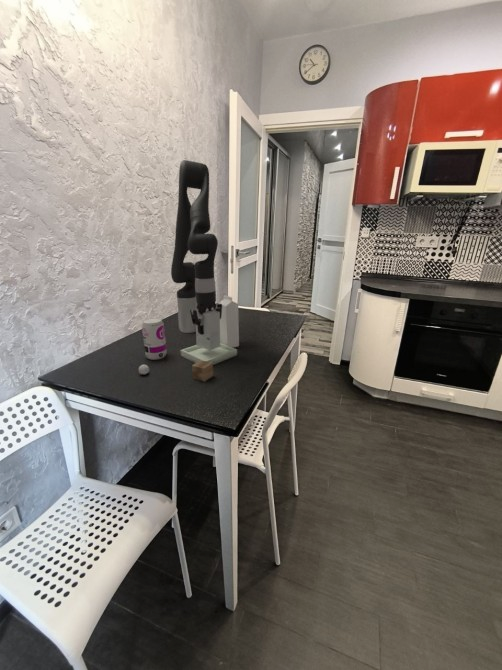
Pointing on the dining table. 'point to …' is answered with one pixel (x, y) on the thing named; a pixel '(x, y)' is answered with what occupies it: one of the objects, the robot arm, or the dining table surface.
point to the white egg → (143, 369)
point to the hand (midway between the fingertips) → (208, 331)
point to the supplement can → (154, 338)
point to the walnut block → (202, 370)
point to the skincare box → (209, 331)
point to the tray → (209, 353)
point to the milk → (229, 323)
